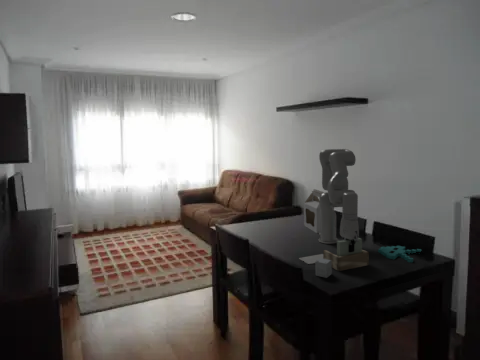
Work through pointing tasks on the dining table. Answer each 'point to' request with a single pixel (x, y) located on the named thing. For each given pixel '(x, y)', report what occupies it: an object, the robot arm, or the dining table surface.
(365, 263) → the brown wooden open box
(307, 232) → the dining table surface
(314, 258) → the felt mat
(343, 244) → the sheet
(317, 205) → the gable box
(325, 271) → the skincare box
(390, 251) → the alien figure
